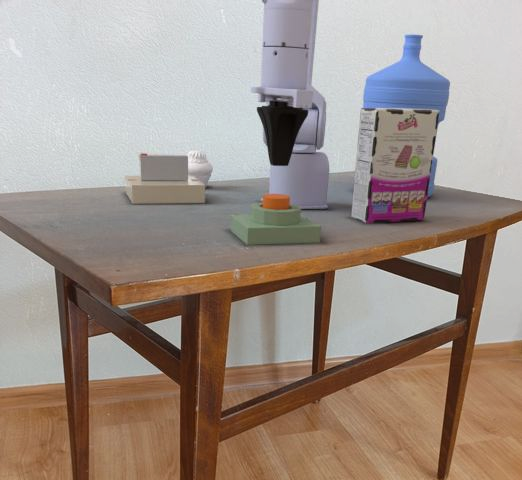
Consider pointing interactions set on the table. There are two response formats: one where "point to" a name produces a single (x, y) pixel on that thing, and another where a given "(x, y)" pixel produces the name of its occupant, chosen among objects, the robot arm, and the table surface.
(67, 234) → the table surface
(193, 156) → the muffin
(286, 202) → the button
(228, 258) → the table surface
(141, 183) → the base
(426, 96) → the water jug
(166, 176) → the gray rectangular brick
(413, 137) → the candy bar box
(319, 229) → the switch
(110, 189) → the table surface
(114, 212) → the table surface
